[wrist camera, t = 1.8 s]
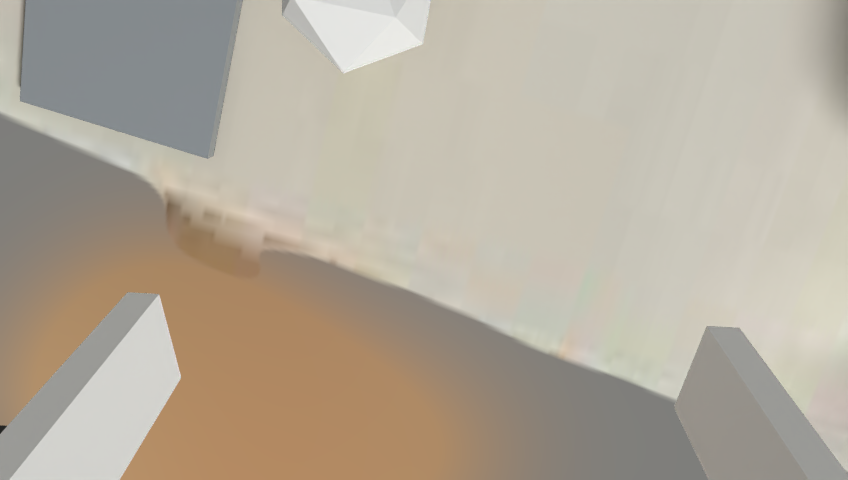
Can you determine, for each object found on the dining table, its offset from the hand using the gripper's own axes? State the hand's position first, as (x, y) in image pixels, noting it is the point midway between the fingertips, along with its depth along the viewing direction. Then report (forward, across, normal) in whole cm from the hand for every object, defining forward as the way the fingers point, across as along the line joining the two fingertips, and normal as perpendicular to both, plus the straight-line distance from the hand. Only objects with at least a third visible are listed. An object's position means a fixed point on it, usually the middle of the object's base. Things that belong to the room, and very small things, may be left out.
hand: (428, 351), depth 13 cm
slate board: (+24, +19, -3) cm, 31 cm away
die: (+26, +5, -6) cm, 27 cm away
